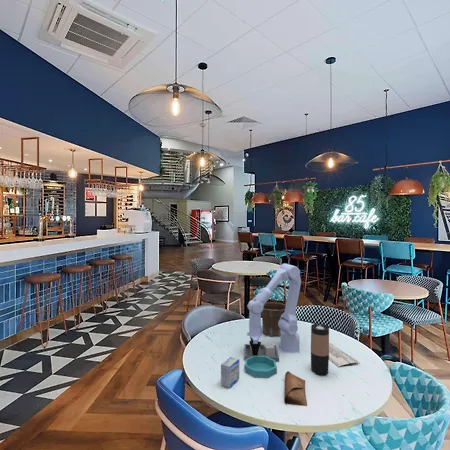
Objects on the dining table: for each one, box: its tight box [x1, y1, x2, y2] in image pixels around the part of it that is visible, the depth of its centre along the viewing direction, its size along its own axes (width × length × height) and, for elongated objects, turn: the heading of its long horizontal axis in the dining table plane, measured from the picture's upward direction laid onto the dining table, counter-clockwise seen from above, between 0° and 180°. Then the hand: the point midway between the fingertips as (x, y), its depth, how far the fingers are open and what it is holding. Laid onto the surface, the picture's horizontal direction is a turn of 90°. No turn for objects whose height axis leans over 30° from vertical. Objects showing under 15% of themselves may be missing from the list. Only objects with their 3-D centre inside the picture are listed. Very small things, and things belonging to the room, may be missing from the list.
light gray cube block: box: [263, 343, 275, 357], centre depth 140 cm, size 4×4×4 cm
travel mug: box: [310, 323, 330, 377], centre depth 126 cm, size 8×8×20 cm
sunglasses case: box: [283, 370, 308, 407], centre depth 111 cm, size 18×7×7 cm, turn 168°
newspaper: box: [329, 342, 360, 368], centre depth 142 cm, size 23×12×2 cm, turn 14°
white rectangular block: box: [250, 345, 260, 356], centre depth 140 cm, size 5×4×5 cm
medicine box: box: [220, 356, 240, 389], centre depth 117 cm, size 8×4×9 cm, turn 148°
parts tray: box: [244, 343, 280, 363], centre depth 140 cm, size 16×13×2 cm
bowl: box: [244, 356, 278, 379], centre depth 126 cm, size 14×14×3 cm
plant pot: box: [261, 302, 286, 338], centre depth 169 cm, size 16×16×16 cm
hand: (254, 352), depth 140 cm, fingers open, 6 cm apart
